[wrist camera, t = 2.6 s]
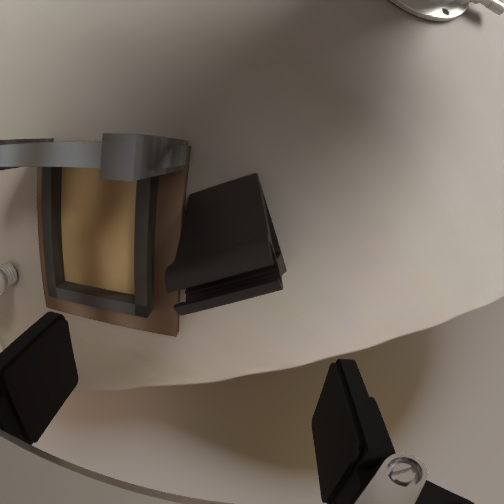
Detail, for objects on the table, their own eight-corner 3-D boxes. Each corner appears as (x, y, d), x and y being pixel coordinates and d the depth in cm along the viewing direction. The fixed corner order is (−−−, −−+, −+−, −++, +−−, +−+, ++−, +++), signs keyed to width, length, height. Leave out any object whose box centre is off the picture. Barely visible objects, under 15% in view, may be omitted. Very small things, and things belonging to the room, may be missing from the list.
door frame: (191, 141, 26) (137, 133, 14) (178, 331, 31) (141, 413, 20) (45, 139, 26) (-42, 144, 14) (51, 303, 31) (-12, 357, 20)
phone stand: (286, 269, 29) (297, 344, 17) (223, 286, 30) (199, 365, 18) (257, 172, 26) (250, 186, 15) (190, 193, 27) (138, 222, 16)
